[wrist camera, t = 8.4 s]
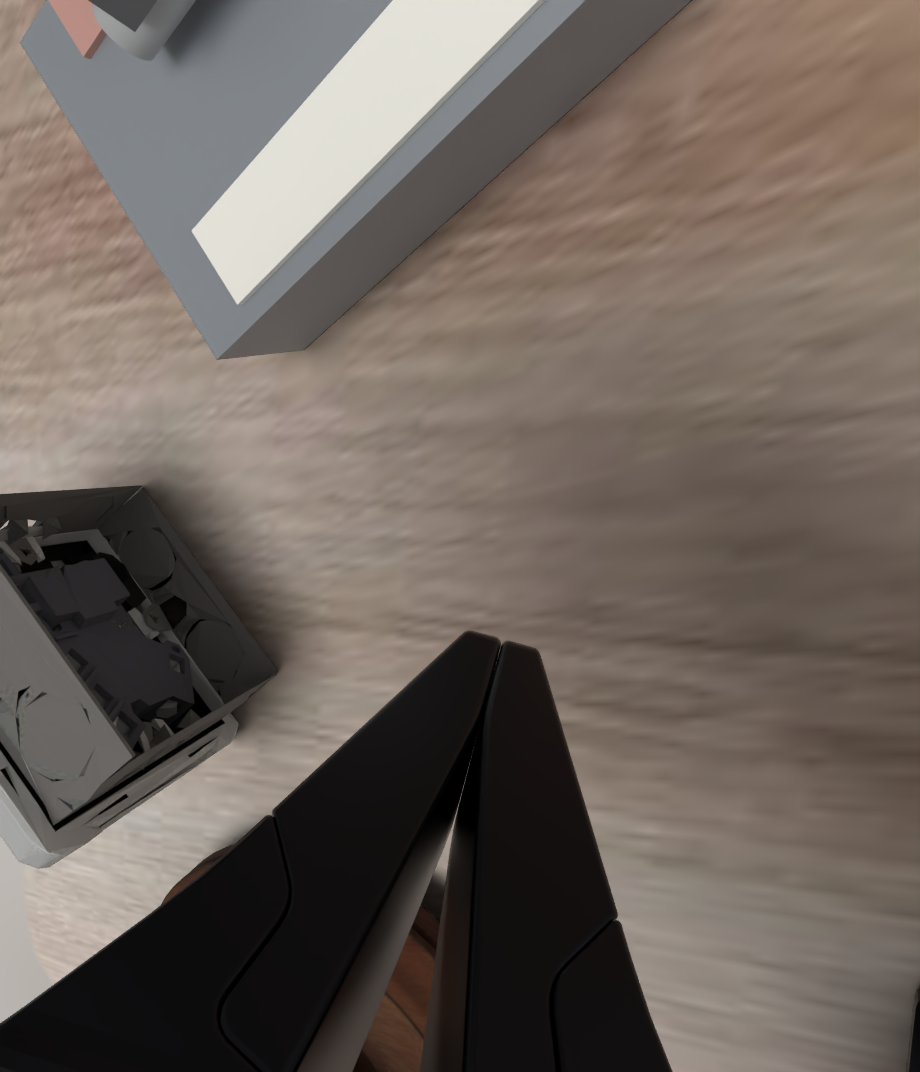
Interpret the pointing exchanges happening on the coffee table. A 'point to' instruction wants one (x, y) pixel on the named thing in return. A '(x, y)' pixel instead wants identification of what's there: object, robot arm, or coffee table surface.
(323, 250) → the block
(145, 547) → the electrical switch
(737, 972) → the coffee table surface
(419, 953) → the brown wooden tower
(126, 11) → the lever
